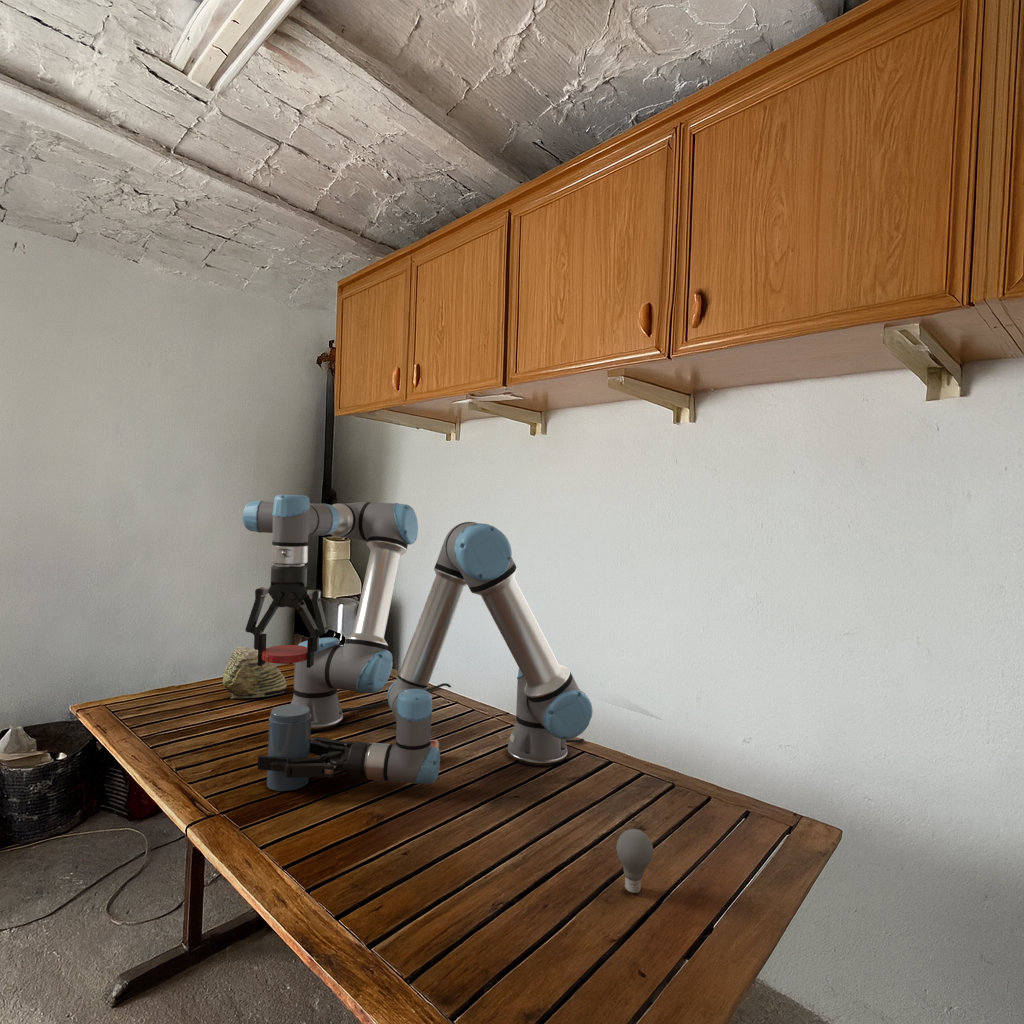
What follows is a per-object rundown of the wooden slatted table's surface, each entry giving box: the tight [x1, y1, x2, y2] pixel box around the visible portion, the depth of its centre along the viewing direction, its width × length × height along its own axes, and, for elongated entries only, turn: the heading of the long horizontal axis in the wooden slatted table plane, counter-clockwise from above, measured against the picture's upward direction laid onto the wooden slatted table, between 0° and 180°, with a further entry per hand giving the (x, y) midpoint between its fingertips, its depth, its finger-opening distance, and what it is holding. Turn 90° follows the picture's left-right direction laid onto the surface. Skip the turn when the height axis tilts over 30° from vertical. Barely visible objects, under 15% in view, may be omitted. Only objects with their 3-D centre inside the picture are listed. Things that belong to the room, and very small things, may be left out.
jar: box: [266, 703, 312, 792], centre depth 140 cm, size 9×9×16 cm
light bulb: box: [615, 828, 654, 894], centre depth 106 cm, size 6×6×10 cm
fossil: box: [222, 646, 288, 699], centre depth 198 cm, size 9×18×15 cm, turn 132°
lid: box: [262, 644, 307, 665], centre depth 140 cm, size 10×10×2 cm
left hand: (285, 665), depth 140 cm, fingers closed on lid, 10 cm apart
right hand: (268, 753), depth 140 cm, fingers closed on jar, 9 cm apart
